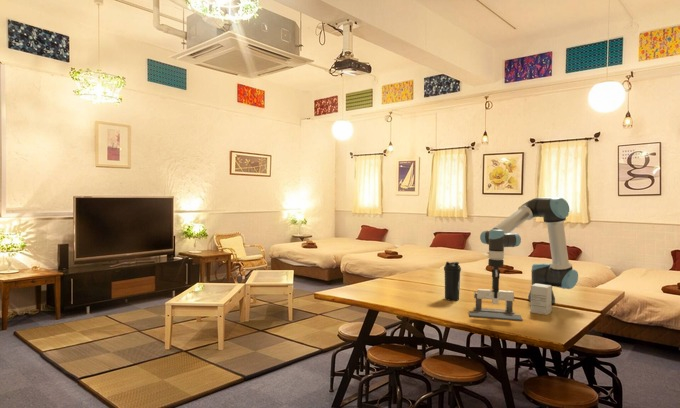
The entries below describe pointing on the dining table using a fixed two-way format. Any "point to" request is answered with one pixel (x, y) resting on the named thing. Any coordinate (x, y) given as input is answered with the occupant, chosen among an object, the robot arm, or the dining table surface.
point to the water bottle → (452, 281)
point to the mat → (495, 315)
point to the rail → (489, 295)
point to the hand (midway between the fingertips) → (495, 303)
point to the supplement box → (541, 298)
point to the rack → (479, 308)
